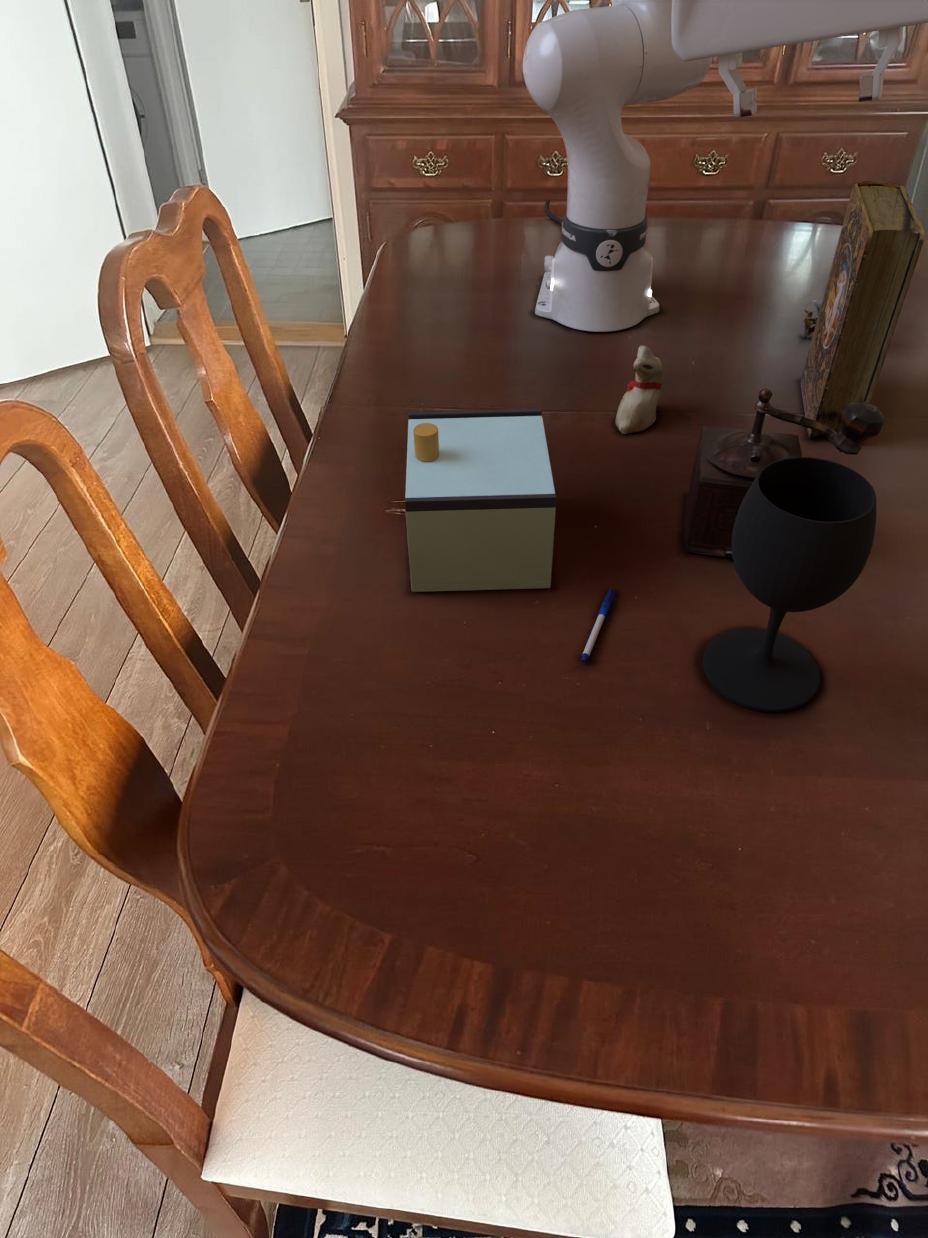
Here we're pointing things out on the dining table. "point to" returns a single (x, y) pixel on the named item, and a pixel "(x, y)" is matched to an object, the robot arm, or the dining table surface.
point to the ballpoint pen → (597, 625)
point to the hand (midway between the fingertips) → (805, 107)
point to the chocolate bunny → (641, 394)
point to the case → (480, 533)
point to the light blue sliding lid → (477, 457)
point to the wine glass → (790, 574)
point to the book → (861, 300)
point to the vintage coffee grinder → (754, 466)
